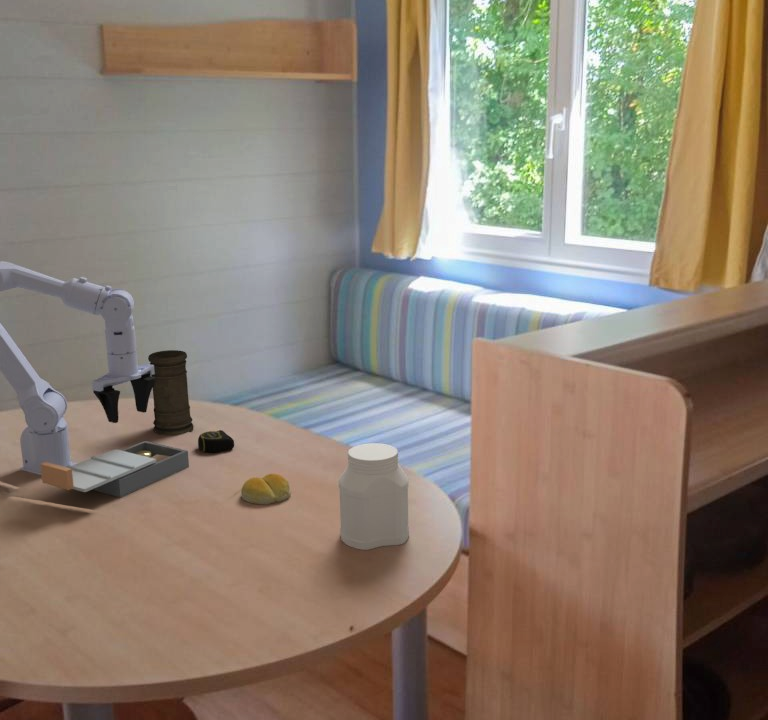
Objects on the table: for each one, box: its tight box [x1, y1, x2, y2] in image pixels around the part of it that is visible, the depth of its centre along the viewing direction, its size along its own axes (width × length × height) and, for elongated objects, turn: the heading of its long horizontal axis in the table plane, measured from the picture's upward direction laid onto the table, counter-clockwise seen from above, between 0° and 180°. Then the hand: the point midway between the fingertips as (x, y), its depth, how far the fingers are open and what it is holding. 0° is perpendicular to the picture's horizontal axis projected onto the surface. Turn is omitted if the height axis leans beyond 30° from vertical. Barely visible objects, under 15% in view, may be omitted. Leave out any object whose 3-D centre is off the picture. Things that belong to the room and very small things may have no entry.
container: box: [147, 349, 195, 436], centre depth 210 cm, size 9×9×18 cm
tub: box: [92, 440, 190, 498], centre depth 184 cm, size 12×18×4 cm, turn 148°
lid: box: [40, 448, 156, 493], centre depth 175 cm, size 11×19×4 cm, turn 148°
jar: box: [338, 442, 410, 551], centre depth 155 cm, size 12×10×15 cm
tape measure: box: [197, 429, 235, 454], centre depth 199 cm, size 7×7×4 cm
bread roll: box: [240, 473, 292, 505], centre depth 174 cm, size 8×9×4 cm
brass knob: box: [135, 451, 152, 468], centre depth 189 cm, size 3×3×3 cm
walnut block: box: [146, 454, 170, 467], centre depth 186 cm, size 4×4×2 cm
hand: (127, 416), depth 189 cm, fingers open, 7 cm apart
